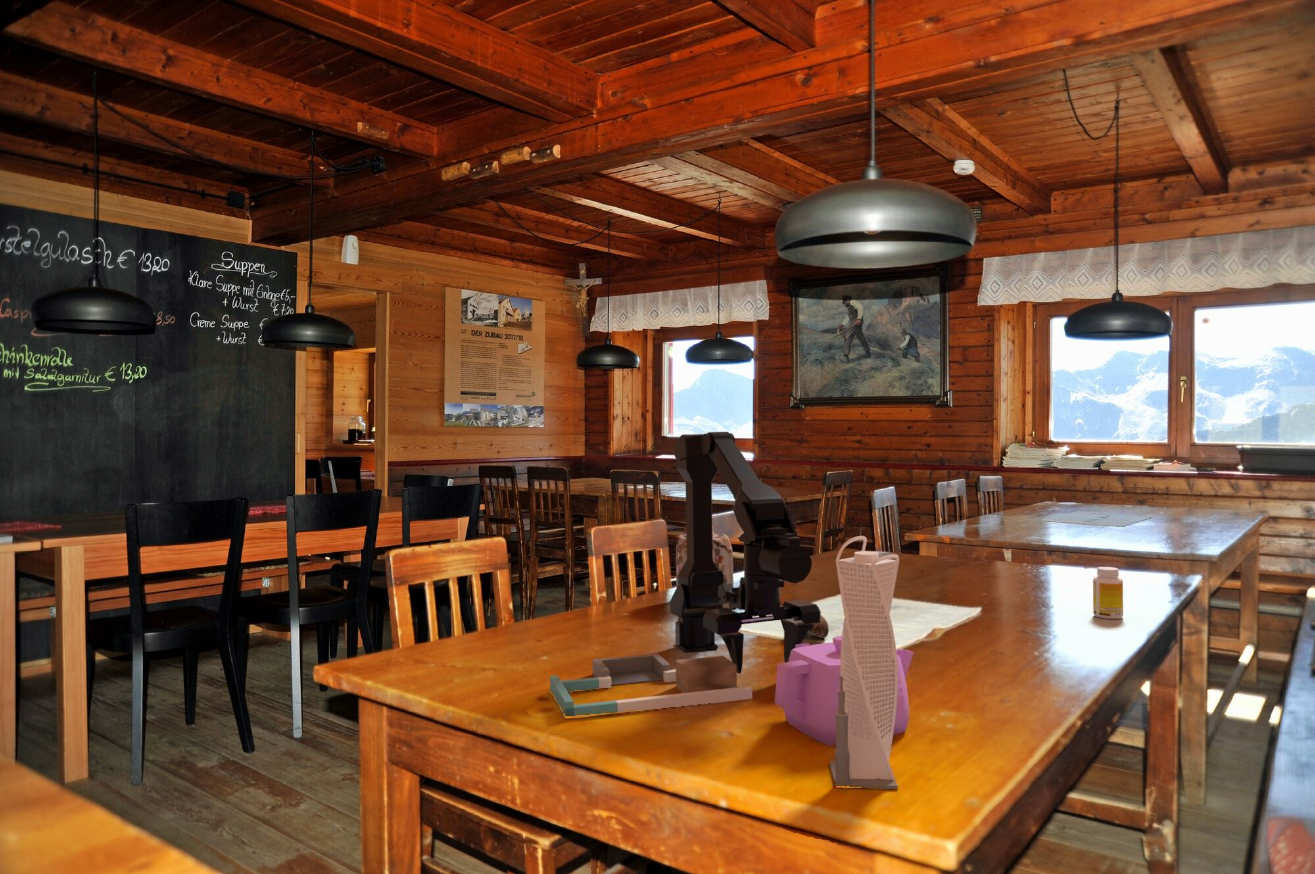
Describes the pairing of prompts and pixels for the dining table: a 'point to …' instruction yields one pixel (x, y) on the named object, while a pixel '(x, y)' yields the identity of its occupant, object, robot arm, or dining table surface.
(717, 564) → the decorative jar
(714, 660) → the block
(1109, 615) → the supplement bottle
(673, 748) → the dining table surface
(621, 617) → the dining table surface
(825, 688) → the teakettle
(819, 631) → the mushroom
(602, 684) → the walled track with bay
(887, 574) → the skyscraper
